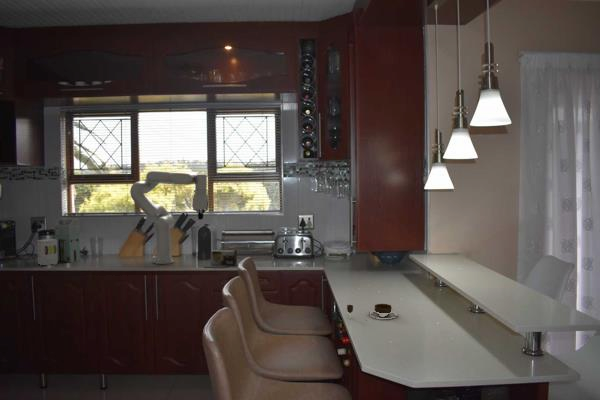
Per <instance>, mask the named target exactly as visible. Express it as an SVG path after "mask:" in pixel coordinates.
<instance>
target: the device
mask: <svg viewBox="0 0 600 400" xmlns="http://www.w3.org/2000/svg"><path fill="white" fill-rule="evenodd" d="M79 221H80V220H79V218H76V217H75V218H74V217H60V218H58V220H57V221H56V222H55V224H54V239H56V240H57V256H58V261H59V262H63V261H66V263H70V262H72V263H76V262H81V250H80V249H81V248H80V247H81V246H80V245H81V244H80V222H79Z"/></svg>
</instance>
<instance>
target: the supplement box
mask: <svg viewBox="0 0 600 400" xmlns="http://www.w3.org/2000/svg"><path fill="white" fill-rule="evenodd" d="M36 242H37V244H36V245H37V246H36V247H37V248H36V249H37V265H38V264H40V265H39V266H42V265H47V266H51V265H50V264H54V265H58V264H57V263H58V256H57V240H56V239H55V238H48V239H47V238H44V239H37V240H36Z"/></svg>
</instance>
